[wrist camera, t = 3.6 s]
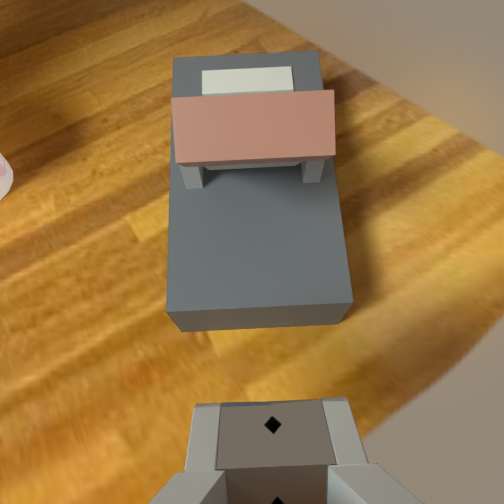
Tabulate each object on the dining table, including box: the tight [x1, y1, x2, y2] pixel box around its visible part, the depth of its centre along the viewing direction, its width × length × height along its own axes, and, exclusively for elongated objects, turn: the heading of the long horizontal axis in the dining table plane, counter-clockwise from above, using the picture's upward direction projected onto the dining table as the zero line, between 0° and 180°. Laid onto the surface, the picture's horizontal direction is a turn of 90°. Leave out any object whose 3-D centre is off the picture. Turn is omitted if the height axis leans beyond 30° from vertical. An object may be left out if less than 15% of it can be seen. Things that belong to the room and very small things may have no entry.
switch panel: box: [166, 51, 353, 332], centre depth 28 cm, size 10×18×8 cm, turn 3°
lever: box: [171, 90, 336, 170], centre depth 21 cm, size 6×2×12 cm
